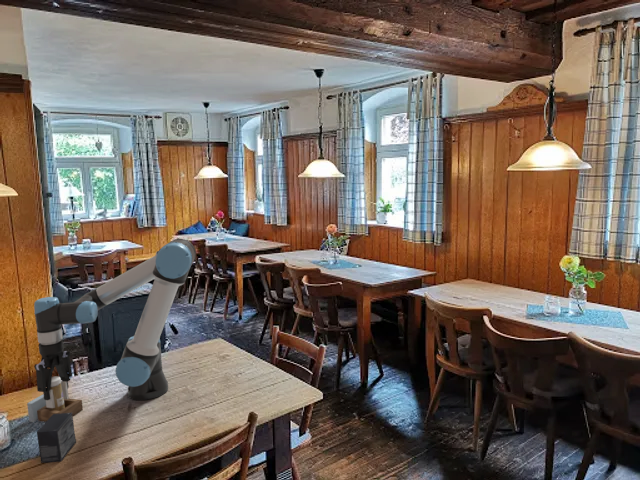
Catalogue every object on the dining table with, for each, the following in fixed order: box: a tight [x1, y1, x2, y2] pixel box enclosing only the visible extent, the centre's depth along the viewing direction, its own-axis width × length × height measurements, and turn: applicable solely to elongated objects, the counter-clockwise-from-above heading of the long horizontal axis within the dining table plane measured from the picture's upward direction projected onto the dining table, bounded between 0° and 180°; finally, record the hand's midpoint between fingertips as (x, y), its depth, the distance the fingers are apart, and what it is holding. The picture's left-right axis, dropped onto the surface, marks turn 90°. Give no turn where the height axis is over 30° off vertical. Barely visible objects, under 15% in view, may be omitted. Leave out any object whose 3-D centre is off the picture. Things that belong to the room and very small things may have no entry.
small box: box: [36, 413, 77, 464], centre depth 144 cm, size 11×6×10 cm, turn 5°
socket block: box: [37, 397, 84, 423], centre depth 167 cm, size 10×10×4 cm
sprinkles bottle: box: [50, 375, 65, 411], centre depth 166 cm, size 5×5×13 cm
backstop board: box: [26, 394, 46, 423], centre depth 168 cm, size 2×12×7 cm, turn 165°
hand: (57, 402), depth 166 cm, fingers open, 6 cm apart
